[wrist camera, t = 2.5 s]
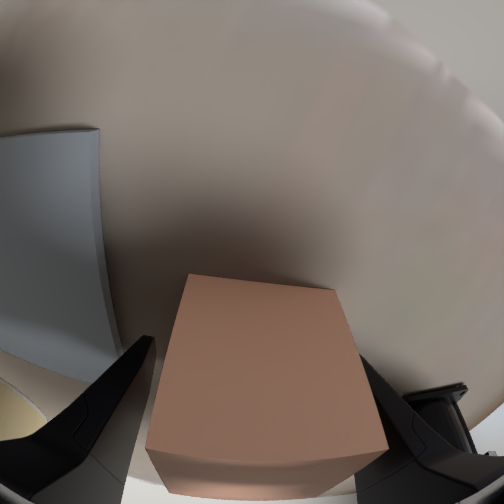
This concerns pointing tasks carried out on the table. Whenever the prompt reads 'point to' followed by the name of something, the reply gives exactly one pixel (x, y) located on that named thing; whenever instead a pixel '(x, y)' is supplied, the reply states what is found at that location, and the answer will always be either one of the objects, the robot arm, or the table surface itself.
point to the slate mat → (55, 255)
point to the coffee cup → (17, 414)
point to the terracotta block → (261, 394)
